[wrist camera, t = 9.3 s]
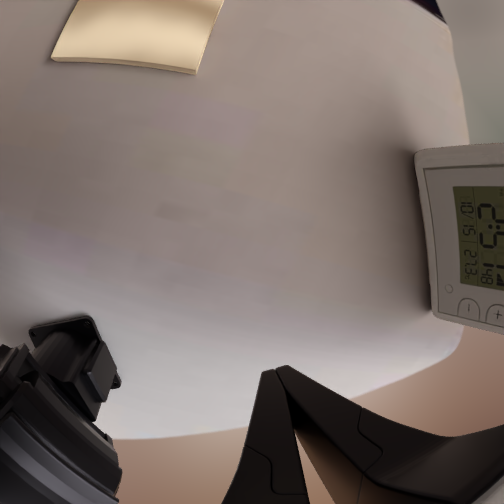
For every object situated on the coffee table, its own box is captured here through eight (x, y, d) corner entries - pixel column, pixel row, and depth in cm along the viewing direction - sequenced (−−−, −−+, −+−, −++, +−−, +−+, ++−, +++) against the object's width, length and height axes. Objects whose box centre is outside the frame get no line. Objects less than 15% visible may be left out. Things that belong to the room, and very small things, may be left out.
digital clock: (404, 142, 21) (510, 135, 10) (467, 147, 22) (553, 149, 12) (403, 323, 25) (480, 381, 14) (462, 300, 26) (532, 339, 16)
